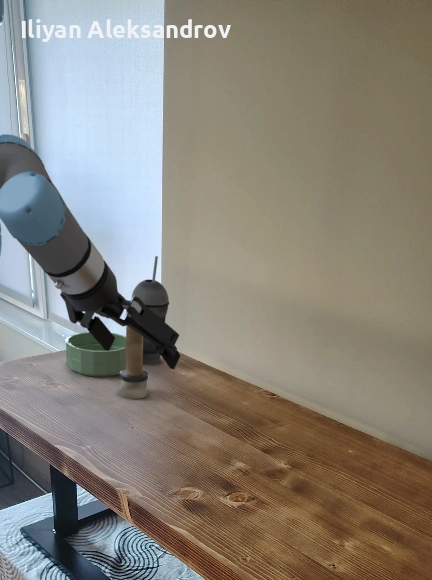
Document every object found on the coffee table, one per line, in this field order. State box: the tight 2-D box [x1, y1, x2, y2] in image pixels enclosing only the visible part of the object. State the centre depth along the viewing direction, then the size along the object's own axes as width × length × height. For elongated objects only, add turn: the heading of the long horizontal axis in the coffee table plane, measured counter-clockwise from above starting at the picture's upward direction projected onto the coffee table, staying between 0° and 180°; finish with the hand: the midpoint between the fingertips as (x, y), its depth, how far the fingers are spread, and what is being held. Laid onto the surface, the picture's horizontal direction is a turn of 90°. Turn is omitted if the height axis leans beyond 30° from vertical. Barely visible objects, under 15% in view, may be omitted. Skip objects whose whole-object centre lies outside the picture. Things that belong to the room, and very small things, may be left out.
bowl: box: [65, 331, 126, 377], centre depth 117 cm, size 12×12×5 cm
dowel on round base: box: [119, 310, 149, 400], centre depth 105 cm, size 5×5×15 cm
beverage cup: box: [130, 255, 170, 365], centre depth 119 cm, size 7×7×20 cm
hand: (142, 352), depth 107 cm, fingers open, 13 cm apart
